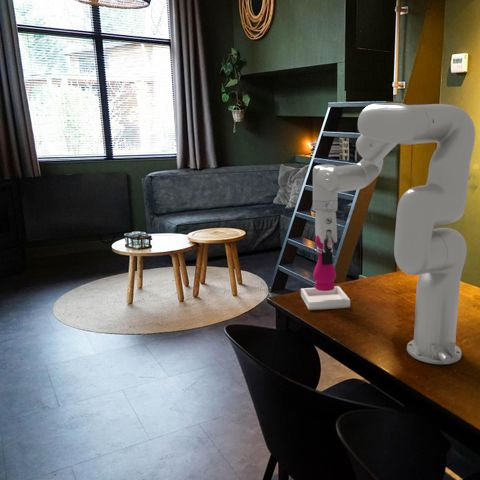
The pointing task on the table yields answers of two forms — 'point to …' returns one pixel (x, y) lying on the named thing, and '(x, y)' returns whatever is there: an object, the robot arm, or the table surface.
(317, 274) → the pepper mill
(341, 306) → the ceramic dish
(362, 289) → the table surface
